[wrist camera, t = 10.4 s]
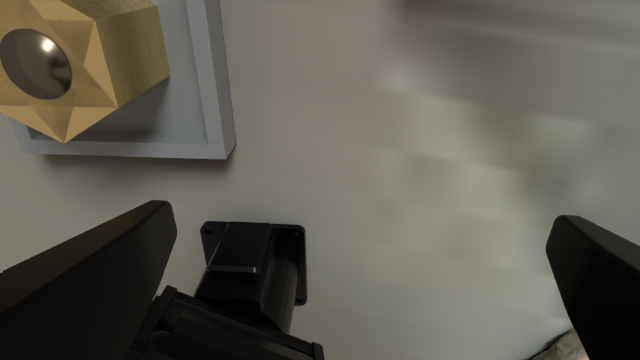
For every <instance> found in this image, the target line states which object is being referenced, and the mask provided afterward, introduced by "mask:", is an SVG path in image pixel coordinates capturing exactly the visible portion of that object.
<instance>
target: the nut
mask: <svg viewBox="0 0 640 360" xmlns="http://www.w3.org/2000/svg"><path fill="white" fill-rule="evenodd" d="M169 75H171V74H170V69H169V64H168V58H167V53H166V48H165V43H164V38H163V32H162V27H161V22H160V17H159V11H158V6H157V5H156V4H154V3H153V2H151V1H149V0H0V112H1V113H3V114H5V115H7V116H9V117H11V118H13V119H15V120H17V121H19V122H21V123H23V124H25V125H27V126H29V127H31V128H33V129H35V130H38V131H40V132H42V133H44V134H46V135H48V136H50V137H52V138H54V139H56V140H58V141H60V142H62V143H66V142H67V141H69V140H70V139H72V138H73V137H75V136H77V135H78V134H80V133H81V132H83V131H84V130H86V129H87V128H89V127H91V126H92V125H94V124H95V123H97V122H98V121H100V120H102V119H103V118H105V117H106V116H108V115H109V114H111V113H112V112H114V111H116V110H117V109H119V108H120V107H122V106H123V105H125V104H126V103H128V102H130V101H131V100H133V99H134V98H136V97H137V96H139V95H140V94H142V93H143V92H145V91H146V90H148V89H149V88H151V87H152V86H154V85H155V84H157V83H159V82H160V81H162V80H163V79H165V78H166V77H168V76H169Z"/></svg>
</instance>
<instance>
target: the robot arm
mask: <svg viewBox="0 0 640 360" xmlns="http://www.w3.org/2000/svg"><path fill="white" fill-rule="evenodd" d="M207 228H209V229H211V230H212V231H209V230H207ZM200 232H201V237H202V242H203V247H204V253H205V258H206V263H207V268H206V270H205V272H204V274H203V276H202V278H201V280H200V282H199V285H198V287H197V289H196V291H195V293H194V295H193V297H192V296H189V295H187V294H184V293H181V292H179V291H177V288H174V287H172V286H169V285H167V286H166V288H165V289H164V291H163V293H162V294H161V296H158V295H157V296H156V297H155V298H154V296H155V294H156V292H157V289H158V287H159V284H160V282H161V279H162V276H163V273H164V271H165V268H166V265H167V262H168V259H169V257H170V254H171V251H172V248H173V245H174V243H175V240H176V236H177V227H176V223H175V219H174V214H173V210H172V206H171V204H170V203H169V202H168V201H162V200H151V201H149V202H147V203H145V204H143V205H141V206H138V207H136V208H134V209H132V210H130V211H128V212H126V213H124V214H122V215H119V216H117V217H115V218H113V219H111V220H109V221H107V222H105V223H103V224H101V225H98V226H96V227H94V228H92V229H90V230H88V231H86V232H84V233H82V234H79V235H77V236H75V237H73V238H71V239H69V240H67V241H65V242H63V243H61V244H58V245H56V246H54V247H52V248H50V249H48V250H46V251H44V252H42V253H40V254H37V255H35V256H33V257H31V258H29V259H27V260H25V261H23V262H21V263H18V264H16V265H14V266H12V267H10V268H8V269H6V270H4V271H3V272H2V273H0V360H324V354H323V347H322V345H320V344H317V343H315V342H312V343H309V342H307V341H304V340H302V339H299V338H297V337H294V336H292V335H289V331H290V325H291V319H292V313H293V308H294V305H297V306H301V305H304V304H305V303H306V301H307V269H306V235H305V229H304V228H303V227H302V226H300V225H289V224H269V223H251V222H216V221H207V222H205V223H204V224H203V225H202V227H201V229H200ZM294 232H299V233H300V234H299V235H296V234H294ZM546 254H547V257H548V260H549V263H550V266H551V269H552V272H553V274H554V277H555V280H556V283H557V286H558V289H559V292H560V295H561V298H562V300H563V303H564V306H565V309H566V311H567V314H568V316H569V318H570V320H571V323H572V325H573V327H574V329H575V331H576V333H577V335H578V337H579V339H580V341H581V344H582V346H583V348H584V350H585V352H586V354H587V356H588V358H589V360H640V246H638V245H636V244H634V243H632V242H630V241H628V240H626V239H624V238H622V237H620V236H618V235H616V234H614V233H612V232H610V231H608V230H606V229H604V228H602V227H600V226H598V225H596V224H594V223H592V222H590V221H588V220H586V219H584V218H582V217H580V216H573V215H560V216H558V217H557V218H556V219H555V221H554V224H553V226H552V229H551V232H550V235H549V238H548V241H547V244H546ZM153 298H154V300H153ZM299 298H302V299H299ZM152 300H153V301H152Z"/></svg>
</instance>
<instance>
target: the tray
mask: <svg viewBox="0 0 640 360" xmlns="http://www.w3.org/2000/svg"><path fill="white" fill-rule="evenodd" d="M149 1H151V2H153V3H154V4H156V5H157V6H158V11H159V17H160V22H161V27H162V32H163V38H164V43H165V48H166V53H167V58H168V64H169V69H170V74H171V75H169V76H168V77H166V78H165V79H163V80H162V81H160V82H159V83H157V84H155V85H154V86H152V87H151V88H149V89H148V90H146V91H145V92H143V93H142V94H140V95H139V96H137V97H136V98H134V99H133V100H131V101H130V102H128V103H126V104H125V105H123V106H122V107H120V108H119V109H117V110H116V111H114V112H112V113H111V114H109V115H108V116H106V117H105V118H103V119H102V120H100V121H98V122H97V123H95V124H94V125H92V126H91V127H89V128H87V129H86V130H84V131H83V132H81V133H80V134H78V135H77V136H75V137H73V138H72V139H70V140H69V141H67V142H66V143H62V142H60V141H58V140H56V139H54V138H52V137H50V136H48V135H46V134H44V133H42V132H40V131H38V130H35V129H33V128H31V127H29V126H27V125H25V124H23V123H21V122H19V121H17V120H15V119H13V118H11V117H9V116H8V119H9V121H10V123H11V126H12V128H13V131H14V133H15V135H16V138H17V140H18V143H19V145H20V147H21V150H22V152H23V153H25V154H59V155H93V156H126V157H160V158H194V159H227V157H228V156H229V154H230V153H231V151H232V149H233V148H234V146H235V145H236V137H235V129H234V120H233V112H232V104H231V95H230V87H229V79H228V71H227V62H226V54H225V46H224V37H223V29H222V21H221V12H220V4H219V0H149Z"/></svg>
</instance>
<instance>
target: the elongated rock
mask: <svg viewBox="0 0 640 360" xmlns="http://www.w3.org/2000/svg"><path fill="white" fill-rule="evenodd" d="M532 360H589V358H588V356H587V354H586V352H585V350H584V348H583V346H582V344H581V341H580V339H579V337H578V335H577V333H576V331H575V329H574V328H571V329H570V330H569V331H568V332H567V333H566V335H565V336H563V337H561V338H560V339H559V340H558V341H556V342H555V343H554V345H552V346H551V348H550V349H548V350H547V351H545V352H542V353H540V354H539V355H537V356H536V357H534V358H533V359H532Z"/></svg>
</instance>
